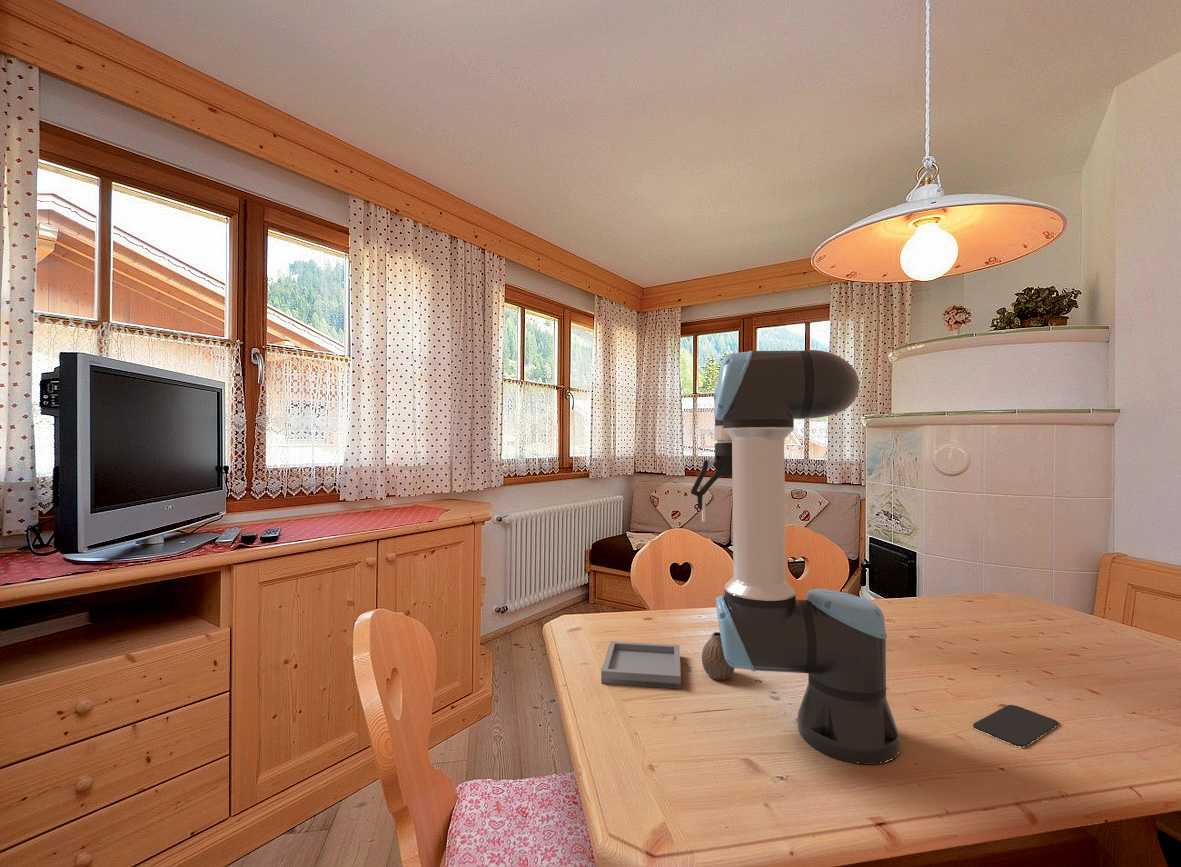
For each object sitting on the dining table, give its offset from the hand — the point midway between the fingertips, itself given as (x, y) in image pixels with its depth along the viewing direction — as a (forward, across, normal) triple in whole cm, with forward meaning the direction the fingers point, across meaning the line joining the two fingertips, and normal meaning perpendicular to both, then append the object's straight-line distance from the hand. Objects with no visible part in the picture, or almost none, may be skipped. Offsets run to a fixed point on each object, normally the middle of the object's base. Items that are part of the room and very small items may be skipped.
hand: (729, 522), depth 137 cm
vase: (+28, +6, +29) cm, 41 cm away
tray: (+28, +22, +28) cm, 45 cm away
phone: (+29, -43, +41) cm, 66 cm away
